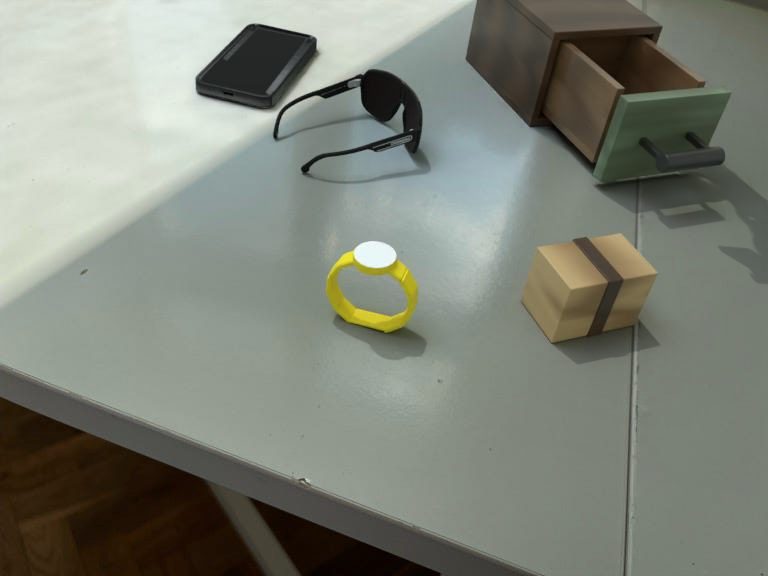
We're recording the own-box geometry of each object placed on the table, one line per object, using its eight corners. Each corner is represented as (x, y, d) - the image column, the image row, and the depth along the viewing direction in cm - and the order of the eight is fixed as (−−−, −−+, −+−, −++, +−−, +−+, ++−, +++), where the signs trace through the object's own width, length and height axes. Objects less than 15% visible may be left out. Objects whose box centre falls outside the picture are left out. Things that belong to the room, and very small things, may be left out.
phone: (319, 37, 83) (270, 99, 72) (319, 47, 84) (270, 110, 73) (249, 21, 84) (190, 80, 73) (249, 31, 85) (190, 91, 74)
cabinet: (630, 116, 81) (663, 26, 74) (529, 126, 76) (554, 32, 70) (558, 52, 90) (581, -32, 84) (465, 58, 86) (482, -30, 80)
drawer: (728, 195, 69) (767, 117, 64) (627, 210, 66) (660, 129, 60) (616, 97, 81) (641, 25, 76) (525, 106, 78) (545, 30, 72)
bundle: (599, 285, 59) (620, 230, 56) (634, 327, 56) (660, 272, 53) (519, 300, 57) (536, 244, 53) (551, 345, 54) (572, 289, 50)
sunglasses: (435, 159, 70) (438, 110, 66) (315, 201, 65) (311, 152, 62) (376, 103, 76) (376, 56, 72) (263, 138, 72) (257, 90, 68)
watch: (415, 321, 54) (429, 254, 50) (404, 348, 52) (417, 280, 48) (333, 296, 55) (340, 229, 51) (319, 322, 53) (325, 253, 49)
